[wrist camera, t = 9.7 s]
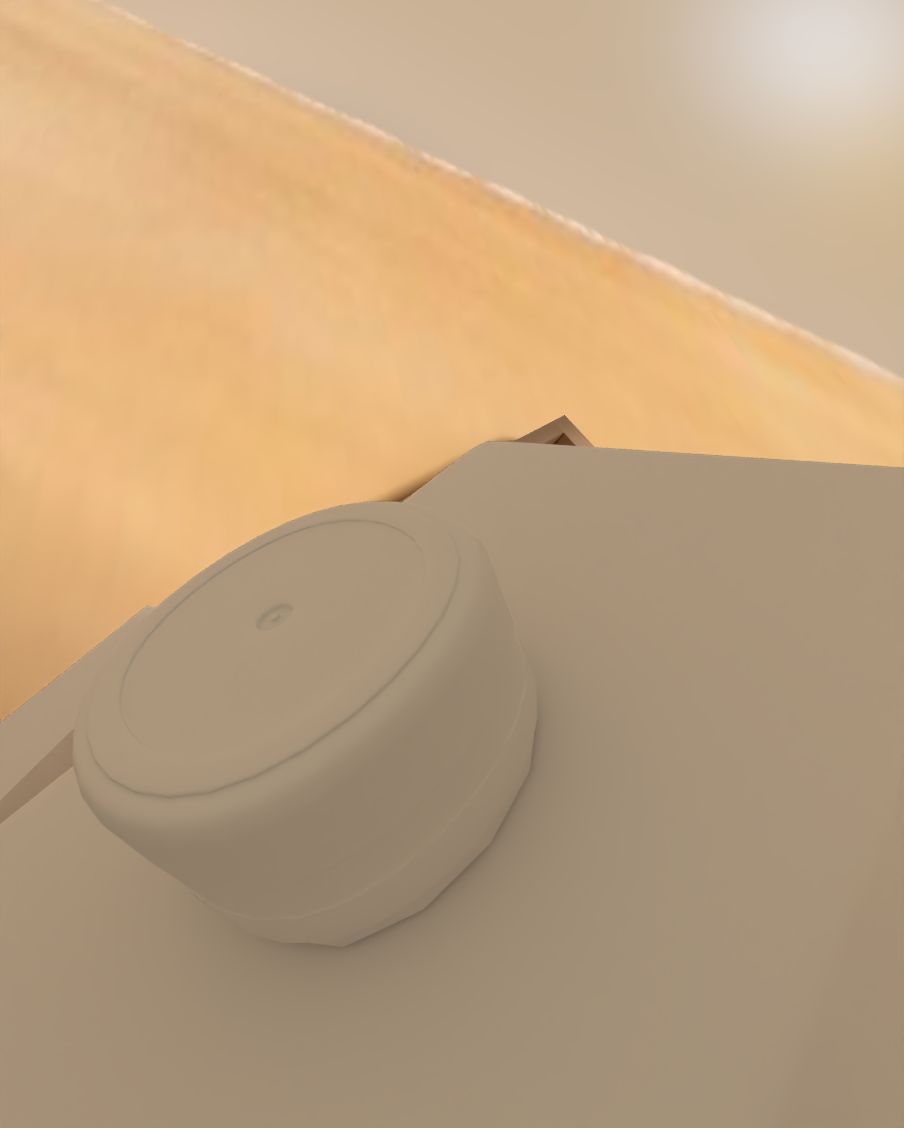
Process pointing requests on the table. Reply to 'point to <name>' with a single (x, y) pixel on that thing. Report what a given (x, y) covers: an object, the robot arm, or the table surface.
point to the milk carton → (488, 817)
